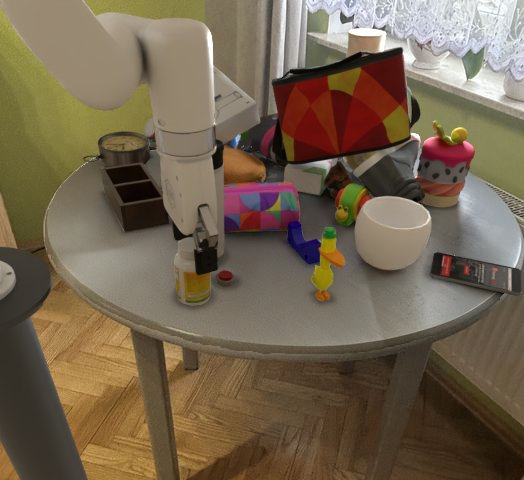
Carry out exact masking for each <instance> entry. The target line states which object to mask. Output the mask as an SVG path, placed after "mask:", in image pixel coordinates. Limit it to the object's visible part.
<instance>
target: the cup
mask: <svg viewBox="0 0 524 480" xmlns="http://www.w3.org/2000/svg"><path fill="white" fill-rule="evenodd" d="M431 231H432V217H431V214H430V211H429V210H428V209H427V208H426V207H424V206H423V204H420V203H419V202H418V203H416V202H414V201H412V200H409V199H405V198H401V197H392V196H383V197H375V198H373V199H370V200H368V201H366V203H365V204H364V205H363V206H362V208H361V210H360V212H359V214H358V216H357V219H356V221H355V226H354V240H355V248H356V251H357V253H358V254H359V256H360V257H361V259H362V260H363V261H364V262H365V263H367V264H369V265H370V266H371V267H374V269H377V270H381V271H388V272H389V271H397V270H402V269H405V268H406V267H408V266H411V265H412V264H413V263H415V262H416V261H417V260H418V259H419V258H420V256H421V254H422V253H423V252H424V251H425V248H426V246H427V244H428V242H429V238H430V235H431Z"/></svg>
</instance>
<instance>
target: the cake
mask: <svg viewBox="0 0 524 480" xmlns="http://www.w3.org/2000/svg"><path fill="white" fill-rule="evenodd" d="M432 128H433V132H432V133H433V134H434V135H435V136H432V137H429V138H427V139H426V140H424V141H423V143H422V147H421V153H420V154H419V157H418V161H419V163H418V165H417V168H416V173H417V175H415V176H414V177H415V179H416V181H417V182H419V183H420V186H421V188H420V190H424V192H425V197H424V198H423V201H421V200H420V201H419V202H418V203H421V204H422V205H425V206H430V207H433V208H449V207H453V206H454V205H456V204H457V203H458V201H459V198H460V195H461V192H462V191H463V190H464V188H465V185H466V177H467V176H468V174H469V170H470V169H471V162H472V161H473V159H474V157H475V154H476V150H475V148H474V146H473V145H472V144H471V143H470V142H468V141H466V140H467V139H468V131H467V129H466V128H464V127H457V128H454V129H453V130H452V132H451V133H450V136H448V135H446V133H445V130H444V128H443V125H441V124H439V121H438V120H434V121H432Z"/></svg>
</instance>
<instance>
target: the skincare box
mask: <svg viewBox="0 0 524 480" xmlns="http://www.w3.org/2000/svg"><path fill="white" fill-rule="evenodd" d="M213 74H214V101H215V126H216V139H218V140H220V141H222V142H223V144H225V143H227V142H228V141H230V140H232V139H233V138H235V137H237V136H238V135H239V136H241V133H243V132H245V131H247V130H248V129H250V128H252V127H253V126H255V125H257V124H259V123H260V117H261V116H260V114H259V109H258V105H257V104H258V103H257V102H256V101H255V100H254V99H253V98H252V97H250V96H249V95H248V94H247V93H246V92H245V91H244V90H243V89H241V88H240V87H239V86H238V85H237V84H236V83H234V82H233V80H231V79H230V78H229V77H228V76H227V75H225V73H223V72H222V71H220V69H218V68H217V66H215V65H214V64H213ZM148 97H149V99H150V100H151V98H150V93H149V94H148Z"/></svg>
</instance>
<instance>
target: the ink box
mask: <svg viewBox="0 0 524 480" xmlns="http://www.w3.org/2000/svg"><path fill="white" fill-rule="evenodd" d="M338 159H339V158H335V159H329V160H323V161H317V162H311V163H306V164H298V165H292V164H288V165H287V166H286V167H285V168H284V175H283V182H288V181H292V182H293V183H294V188H296V189H297V192H299V193H306V194H311V195H315V196H321V195H322V194H323V193H324V191H325V190H326V188H327V186H326V185H325V183H324V180H325V178H326V176H327V174H328V172H329V170H330V168H331V167H333V166H335V165H336V164H337V162H338Z"/></svg>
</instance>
